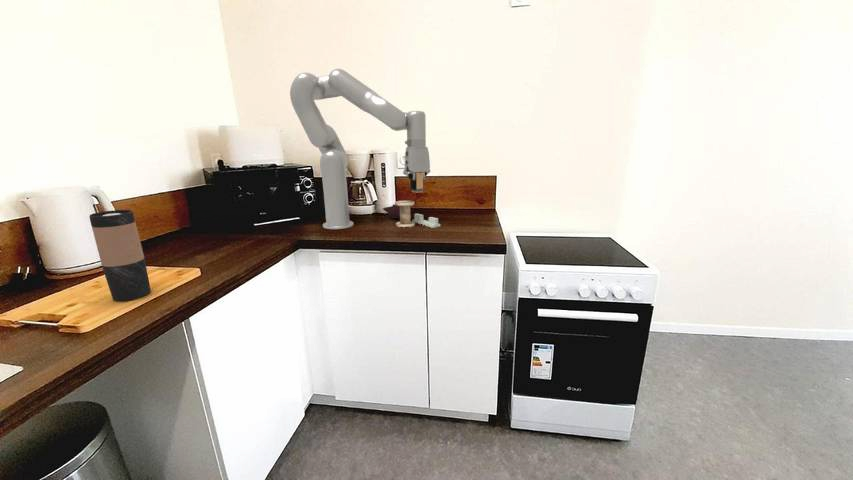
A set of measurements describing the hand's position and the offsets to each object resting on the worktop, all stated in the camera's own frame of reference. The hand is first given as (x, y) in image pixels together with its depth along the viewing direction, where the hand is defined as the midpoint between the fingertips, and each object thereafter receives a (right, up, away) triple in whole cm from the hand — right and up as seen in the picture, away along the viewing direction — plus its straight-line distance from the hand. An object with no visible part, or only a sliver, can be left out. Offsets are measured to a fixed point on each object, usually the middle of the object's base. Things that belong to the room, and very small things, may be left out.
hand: (417, 188), depth 149 cm
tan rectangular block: (0, -1, 0) cm, 1 cm away
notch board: (+4, -15, +4) cm, 16 cm away
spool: (-5, -15, +2) cm, 16 cm away
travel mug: (-66, -35, -64) cm, 98 cm away
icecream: (-11, -12, +16) cm, 22 cm away
